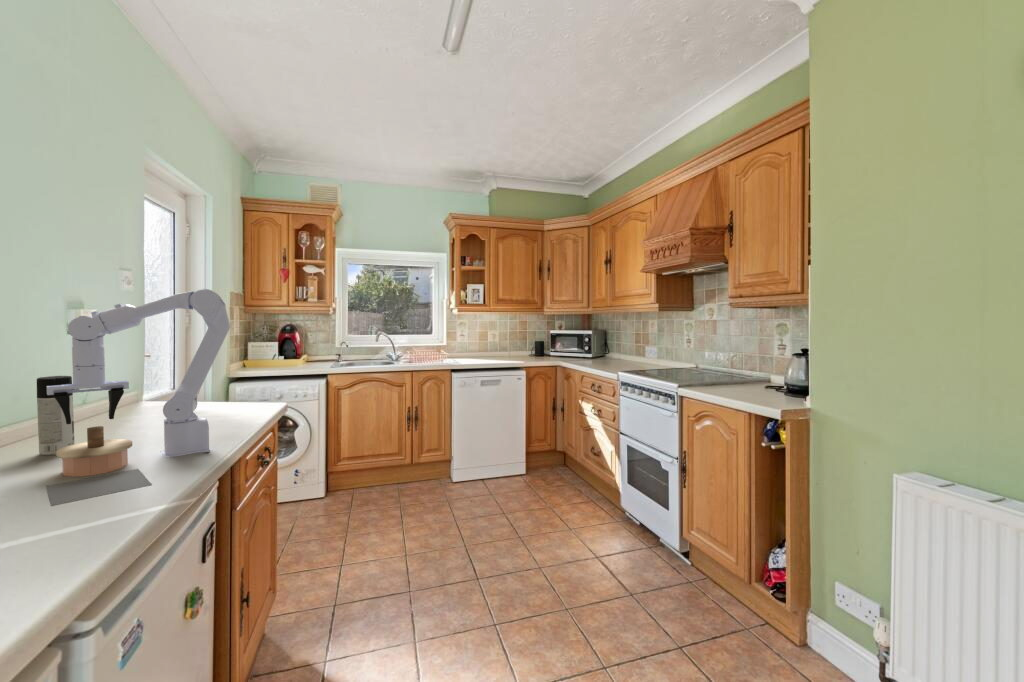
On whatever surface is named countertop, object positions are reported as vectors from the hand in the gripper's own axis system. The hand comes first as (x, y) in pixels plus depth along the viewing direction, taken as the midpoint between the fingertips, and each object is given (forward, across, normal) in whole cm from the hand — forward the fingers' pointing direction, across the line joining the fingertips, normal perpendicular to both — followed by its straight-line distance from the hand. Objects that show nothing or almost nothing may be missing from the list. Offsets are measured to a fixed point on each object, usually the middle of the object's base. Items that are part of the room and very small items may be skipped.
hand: (90, 421), depth 111 cm
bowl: (+10, 0, +8) cm, 13 cm away
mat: (+10, +1, +23) cm, 25 cm away
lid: (+5, 0, +9) cm, 10 cm away
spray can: (+11, +5, -18) cm, 21 cm away
